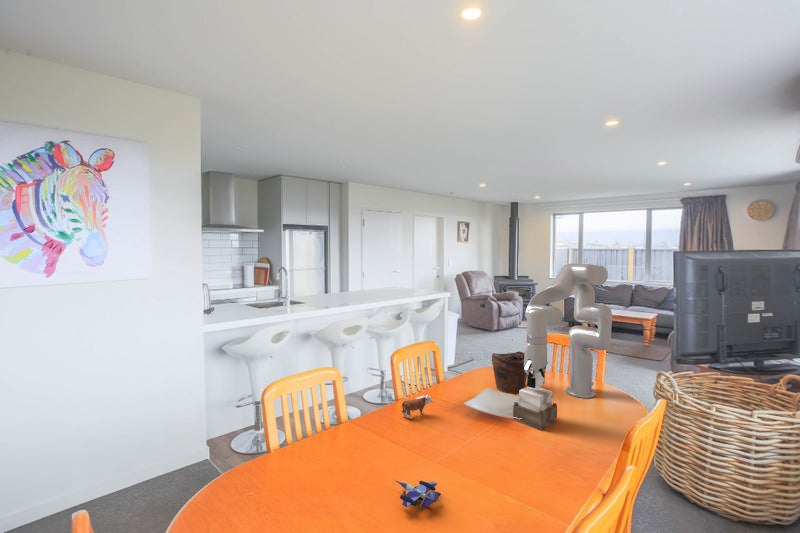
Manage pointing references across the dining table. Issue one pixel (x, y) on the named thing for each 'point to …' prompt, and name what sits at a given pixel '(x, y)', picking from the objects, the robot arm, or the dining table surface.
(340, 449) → the dining table surface
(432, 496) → the toy airplane
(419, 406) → the bull figurine
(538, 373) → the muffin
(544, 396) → the knobbed square box
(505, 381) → the brown plant pot
